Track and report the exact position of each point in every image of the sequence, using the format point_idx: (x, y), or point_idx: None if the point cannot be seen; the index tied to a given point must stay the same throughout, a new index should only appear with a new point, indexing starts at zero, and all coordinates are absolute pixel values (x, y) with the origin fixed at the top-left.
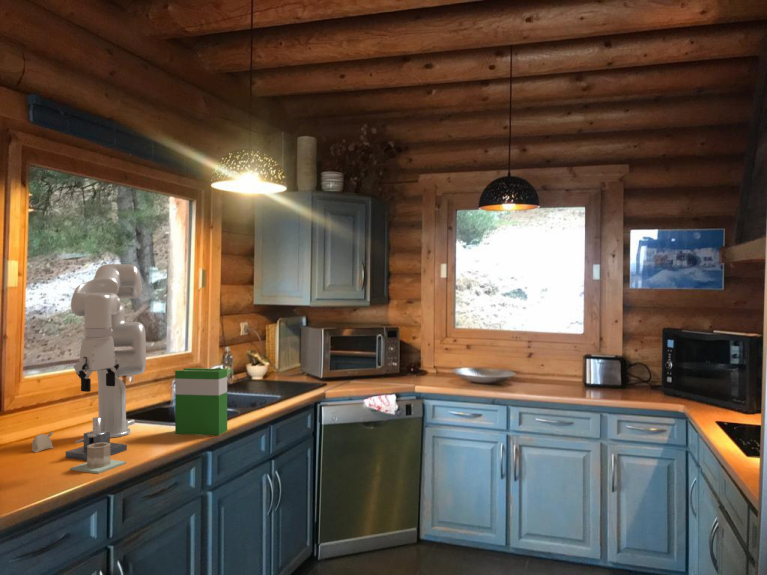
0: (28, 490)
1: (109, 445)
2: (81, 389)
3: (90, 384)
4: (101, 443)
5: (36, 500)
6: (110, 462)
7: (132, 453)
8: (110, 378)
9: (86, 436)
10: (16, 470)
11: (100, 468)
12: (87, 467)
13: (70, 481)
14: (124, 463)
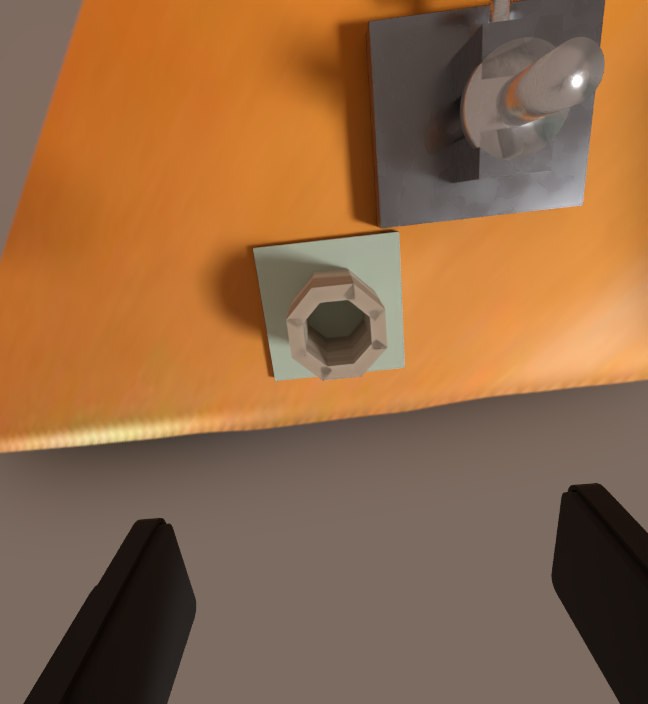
0: (50, 330)
1: (356, 376)
2: (133, 536)
3: (167, 697)
4: (367, 314)
5: (30, 430)
6: None
7: (526, 273)
8: (626, 655)
9: (476, 58)
10: (125, 14)
11: None
12: (289, 304)
13: (177, 367)
14: (396, 366)
